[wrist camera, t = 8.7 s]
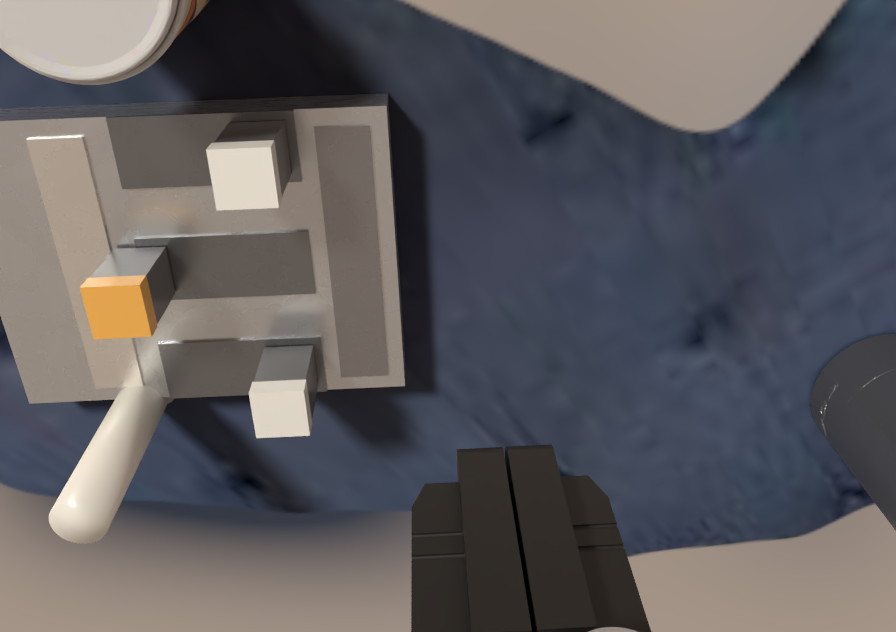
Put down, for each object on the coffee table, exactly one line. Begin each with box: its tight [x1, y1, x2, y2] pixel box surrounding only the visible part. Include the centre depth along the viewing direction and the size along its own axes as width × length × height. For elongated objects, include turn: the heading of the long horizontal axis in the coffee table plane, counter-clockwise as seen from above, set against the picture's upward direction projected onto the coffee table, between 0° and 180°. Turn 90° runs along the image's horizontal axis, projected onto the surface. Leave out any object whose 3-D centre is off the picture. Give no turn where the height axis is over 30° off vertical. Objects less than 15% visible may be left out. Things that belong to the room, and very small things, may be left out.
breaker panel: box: [0, 93, 405, 403], centre depth 49 cm, size 24×18×3 cm
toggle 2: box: [206, 120, 291, 211], centre depth 42 cm, size 3×3×5 cm
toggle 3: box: [249, 345, 318, 438], centre depth 49 cm, size 3×3×5 cm
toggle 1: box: [80, 247, 175, 339], centre depth 45 cm, size 3×3×5 cm
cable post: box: [49, 385, 175, 544], centre depth 49 cm, size 4×4×14 cm
